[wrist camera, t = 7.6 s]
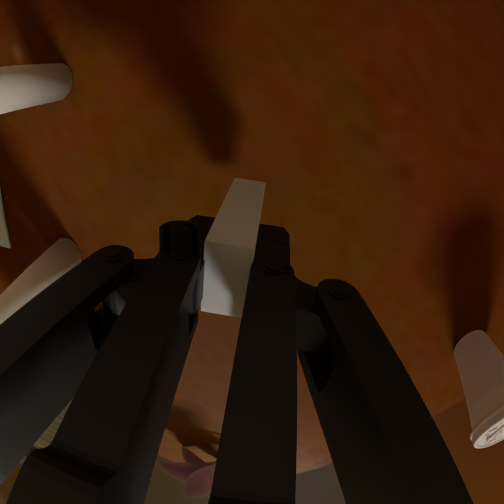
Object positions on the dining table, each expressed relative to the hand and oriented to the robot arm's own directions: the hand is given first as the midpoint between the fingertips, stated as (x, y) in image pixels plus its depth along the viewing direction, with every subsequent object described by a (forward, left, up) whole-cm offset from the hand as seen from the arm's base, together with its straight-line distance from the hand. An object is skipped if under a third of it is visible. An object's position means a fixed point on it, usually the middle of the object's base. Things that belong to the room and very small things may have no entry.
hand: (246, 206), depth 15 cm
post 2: (+13, +7, -3) cm, 15 cm away
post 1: (+13, -6, -3) cm, 15 cm away
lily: (+1, +33, -3) cm, 33 cm away
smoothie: (-22, +10, -3) cm, 24 cm away
